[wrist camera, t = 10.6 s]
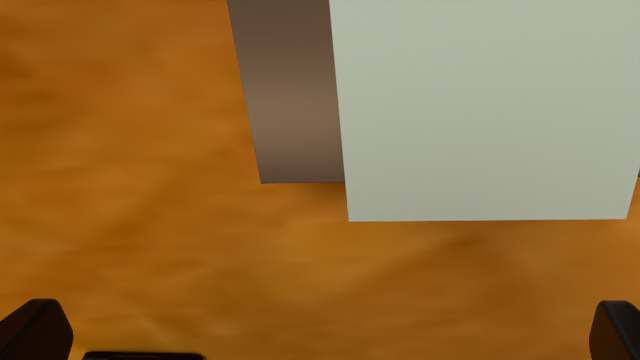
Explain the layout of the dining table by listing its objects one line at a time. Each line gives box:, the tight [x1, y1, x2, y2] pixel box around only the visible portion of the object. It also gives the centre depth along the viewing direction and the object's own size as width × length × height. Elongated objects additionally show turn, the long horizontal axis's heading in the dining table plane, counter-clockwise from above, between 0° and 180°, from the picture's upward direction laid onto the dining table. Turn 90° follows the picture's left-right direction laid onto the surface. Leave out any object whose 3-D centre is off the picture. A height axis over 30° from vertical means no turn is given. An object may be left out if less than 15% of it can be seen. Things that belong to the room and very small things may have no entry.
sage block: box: [329, 0, 640, 222], centre depth 12 cm, size 5×5×6 cm
